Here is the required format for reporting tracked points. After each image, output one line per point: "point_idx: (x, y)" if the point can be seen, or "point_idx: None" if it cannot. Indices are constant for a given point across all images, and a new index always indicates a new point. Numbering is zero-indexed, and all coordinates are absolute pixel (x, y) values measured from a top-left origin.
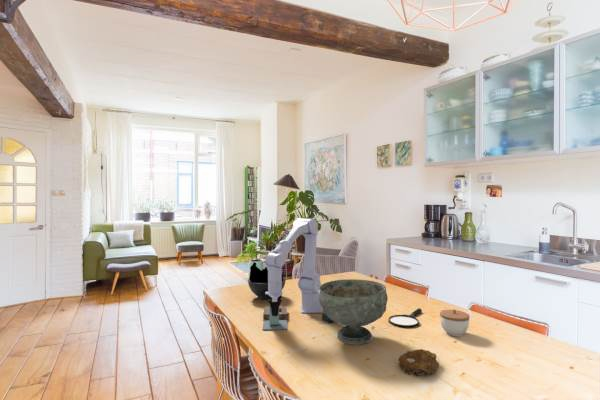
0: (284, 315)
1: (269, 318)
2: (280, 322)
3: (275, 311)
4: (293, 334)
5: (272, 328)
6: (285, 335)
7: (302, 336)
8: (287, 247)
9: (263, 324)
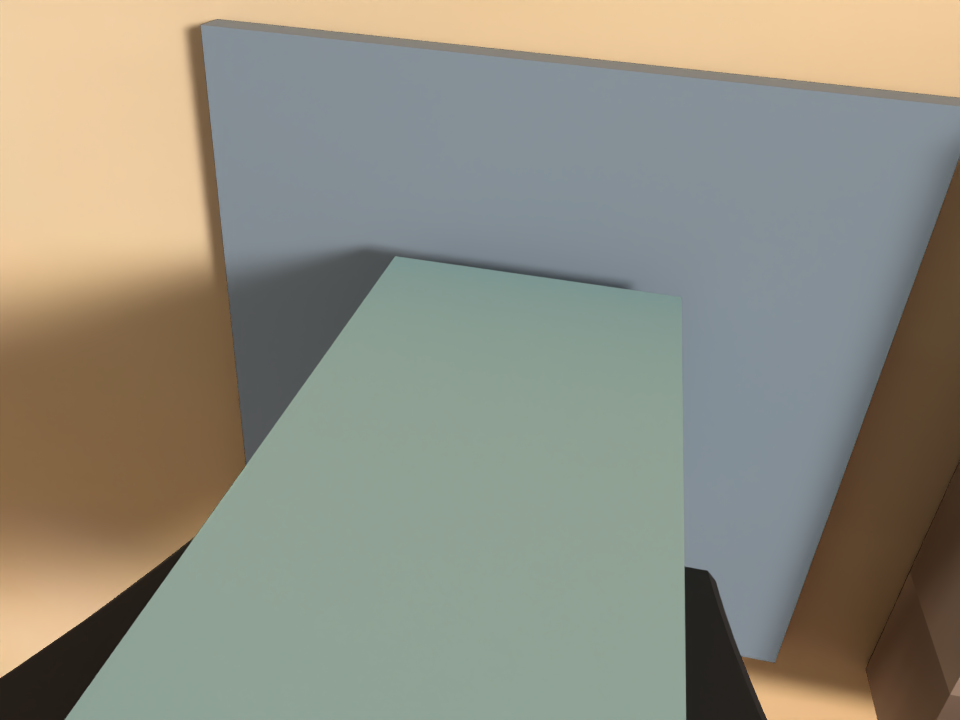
0: (909, 712)
1: (333, 346)
2: None
3: None
4: (72, 580)
5: (254, 293)
6: (8, 463)
7: (18, 661)
8: None
9: (577, 76)
